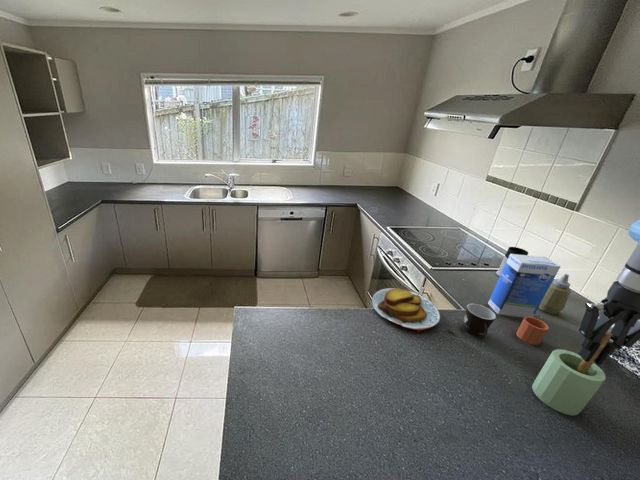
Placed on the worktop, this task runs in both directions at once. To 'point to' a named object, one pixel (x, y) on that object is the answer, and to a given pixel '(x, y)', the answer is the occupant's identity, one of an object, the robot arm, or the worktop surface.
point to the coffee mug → (477, 320)
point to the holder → (510, 251)
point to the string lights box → (523, 285)
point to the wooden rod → (585, 365)
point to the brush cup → (532, 330)
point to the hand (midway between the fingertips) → (589, 359)
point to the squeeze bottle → (556, 296)
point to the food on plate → (406, 308)
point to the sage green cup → (567, 382)
